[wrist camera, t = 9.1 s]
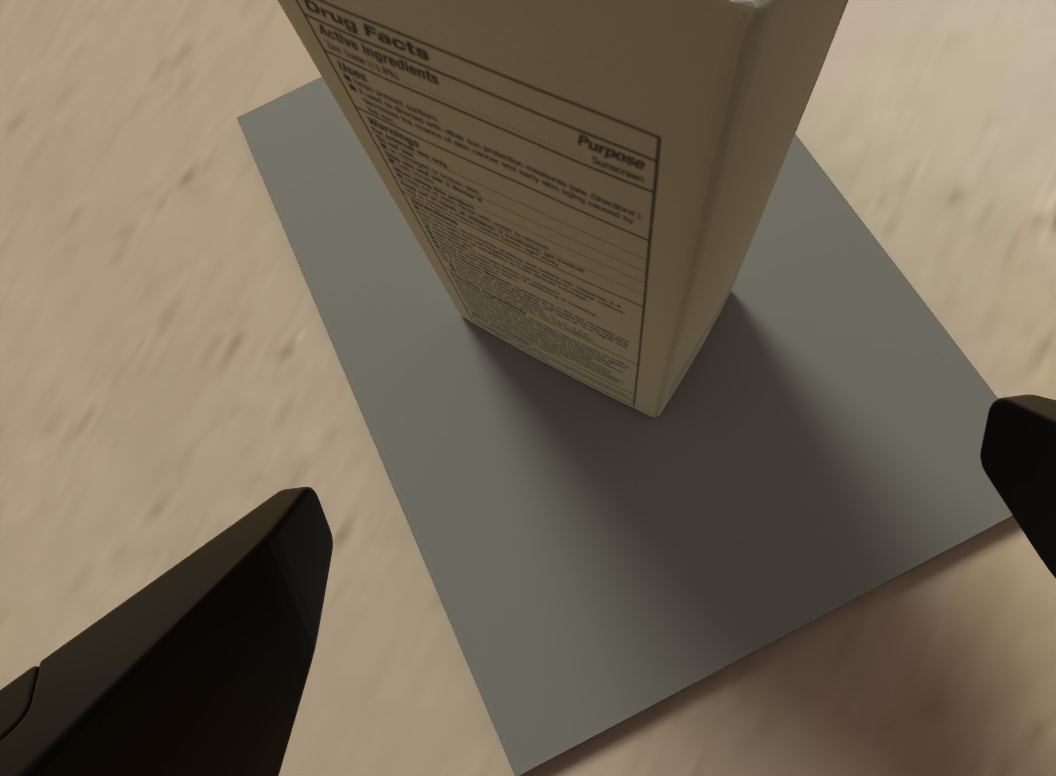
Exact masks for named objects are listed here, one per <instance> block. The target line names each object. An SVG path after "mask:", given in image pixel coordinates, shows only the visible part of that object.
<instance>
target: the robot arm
mask: <svg viewBox="0 0 1056 776" xmlns="http://www.w3.org/2000/svg"><path fill="white" fill-rule="evenodd" d="M980 458H981V464H982V467H983V469H984V471H985V473H986V475H987V476H988V478H989V479H990V481H991V483H992V484H993V486H994V487H995V489H996V490H997V492H998V493H999V495H1000V496H1001V498H1002V499H1003V501H1004V503H1005V504H1006V506H1007V507H1008V509H1009V510H1010V512H1011V513H1012V515H1013V516H1014V518H1015V519H1016V521H1017V523H1018V524H1019V526H1020V527H1021V529H1022V530H1023V532H1024V533H1025V535H1026V536H1027V538H1028V539H1029V541H1030V543H1031V544H1032V546H1033V547H1034V549H1035V550H1036V552H1037V553H1038V555H1039V556H1040V558H1041V559H1042V560H1043V562H1044V563H1045V565H1046V566H1047V568H1048V569H1049V570H1050V572H1051V573H1052V574H1053V576H1054V577H1055V578H1056V400H1052V399H1048V398H1044V397H1040V396H1036V395H1020V396H1012V397H1005V398H999V399H997V400H996V401H994V402H993V403H992V405H991V406H990V409H989V412H988V417H987V422H986V427H985V431H984V436H983V441H982V446H981V452H980ZM332 549H333V540H332V534H331V531H330V528H329V525H328V523H327V520H326V517H325V515H324V512H323V509H322V507H321V504H320V501H319V499H318V496H317V494H316V492H315V491H314V490H313V489H312V488H310V487H300V488H292V489H284V490H281V491H279V492H278V493H276V494H275V495H274V496H272V497H271V498H269V499H268V500H267V501H265V502H264V503H262V504H261V505H260V506H258V507H257V508H255V509H254V510H253V511H251V512H250V513H248V514H247V515H246V516H244V517H243V518H241V519H240V520H239V521H237V522H236V523H234V524H233V525H232V526H230V527H229V528H227V529H226V530H225V531H223V532H222V533H220V534H219V535H218V536H216V537H215V538H213V539H212V540H211V541H209V542H208V543H206V544H205V545H204V546H202V547H201V548H199V549H198V550H196V551H195V552H194V553H192V554H191V555H189V556H188V557H187V558H185V559H184V560H182V561H181V562H180V563H178V564H177V565H175V566H174V567H173V568H171V569H170V570H168V571H167V572H166V573H164V574H163V575H161V576H160V577H159V578H157V579H156V580H154V581H153V582H152V583H150V584H149V585H147V586H146V587H145V588H143V589H142V590H140V591H139V592H138V593H136V594H135V595H133V596H132V597H131V598H129V599H128V600H126V601H125V602H124V603H122V604H121V605H119V606H118V607H116V608H115V609H114V610H112V611H111V612H109V613H108V614H107V615H105V616H104V617H102V618H101V619H100V620H98V621H97V622H95V623H94V624H93V625H91V626H90V627H88V628H87V629H86V630H84V631H83V632H81V633H80V634H79V635H77V636H76V637H74V638H73V639H72V640H70V641H69V642H67V643H66V644H65V645H63V646H62V647H60V648H59V649H58V650H56V651H55V652H53V653H52V654H51V655H49V656H48V657H46V658H45V659H44V660H42V661H41V663H40V666H39V667H38V666H34V667H32V668H31V669H29V670H28V671H26V672H25V673H24V674H22V675H21V676H19V677H18V678H17V679H15V680H14V681H12V682H11V683H10V684H8V685H7V686H5V687H4V688H3V689H1V690H0V776H279V772H280V769H281V766H282V762H283V759H284V755H285V752H286V748H287V745H288V741H289V738H290V735H291V731H292V728H293V724H294V721H295V717H296V714H297V711H298V707H299V704H300V700H301V697H302V693H303V690H304V687H305V683H306V680H307V676H308V673H309V669H310V666H311V662H312V658H313V654H314V651H315V646H316V641H317V636H318V631H319V625H320V620H321V614H322V608H323V602H324V596H325V590H326V585H327V579H328V573H329V567H330V561H331V556H332Z"/></svg>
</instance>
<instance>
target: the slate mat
mask: <svg viewBox="0 0 1056 776" xmlns="http://www.w3.org/2000/svg"><path fill="white" fill-rule="evenodd" d="M237 119H238V122H239V124H240V126H241V129H242V131H243V133H244V136H245V138H246V140H247V143H248V145H249V148H250V150H251V152H252V155H253V157H254V159H255V162H256V164H257V166H258V169H259V171H260V174H261V176H262V178H263V181H264V183H265V185H266V188H267V190H268V193H269V195H270V197H271V200H272V202H273V204H274V207H275V209H276V211H277V214H278V216H279V219H280V221H281V223H282V226H283V228H284V230H285V233H286V235H287V237H288V240H289V242H290V245H291V247H292V249H293V252H294V254H295V256H296V259H297V261H298V263H299V266H300V268H301V271H302V273H303V275H304V278H305V280H306V282H307V285H308V287H309V289H310V292H311V294H312V297H313V299H314V301H315V304H316V306H317V308H318V311H319V313H320V316H321V318H322V320H323V323H324V325H325V327H326V330H327V332H328V334H329V337H330V339H331V342H332V344H333V346H334V349H335V351H336V353H337V356H338V358H339V360H340V363H341V365H342V368H343V370H344V372H345V375H346V377H347V379H348V382H349V384H350V386H351V389H352V391H353V394H354V396H355V398H356V401H357V403H358V405H359V408H360V410H361V412H362V415H363V417H364V420H365V422H366V424H367V427H368V429H369V431H370V434H371V436H372V439H373V441H374V443H375V446H376V448H377V450H378V453H379V455H380V457H381V460H382V462H383V465H384V467H385V469H386V472H387V474H388V476H389V479H390V481H391V483H392V486H393V488H394V491H395V493H396V495H397V498H398V500H399V502H400V505H401V507H402V509H403V512H404V514H405V517H406V519H407V521H408V524H409V526H410V528H411V531H412V533H413V535H414V538H415V540H416V543H417V545H418V547H419V550H420V552H421V554H422V557H423V559H424V562H425V564H426V566H427V569H428V571H429V573H430V576H431V578H432V580H433V583H434V585H435V588H436V590H437V592H438V595H439V597H440V599H441V602H442V604H443V606H444V609H445V611H446V614H447V616H448V618H449V621H450V623H451V625H452V628H453V630H454V632H455V635H456V637H457V640H458V642H459V644H460V647H461V649H462V651H463V654H464V656H465V658H466V661H467V663H468V666H469V668H470V670H471V673H472V675H473V677H474V680H475V682H476V685H477V687H478V689H479V692H480V694H481V696H482V699H483V701H484V703H485V706H486V708H487V711H488V713H489V715H490V718H491V720H492V722H493V725H494V727H495V729H496V732H497V734H498V737H499V739H500V741H501V744H502V746H503V748H504V751H505V753H506V755H507V758H508V760H509V763H510V765H511V767H512V770H513V772H514V774H515V776H519V775H521V774H523V773H525V772H527V771H529V770H531V769H532V768H534V767H536V766H538V765H540V764H542V763H544V762H546V761H548V760H550V759H551V758H553V757H555V756H557V755H559V754H561V753H563V752H565V751H567V750H569V749H570V748H572V747H574V746H576V745H578V744H580V743H582V742H584V741H586V740H588V739H589V738H591V737H593V736H595V735H597V734H599V733H601V732H603V731H605V730H606V729H608V728H610V727H612V726H614V725H616V724H618V723H620V722H622V721H624V720H625V719H627V718H629V717H631V716H633V715H635V714H637V713H639V712H641V711H643V710H644V709H646V708H648V707H650V706H652V705H654V704H656V703H658V702H660V701H662V700H663V699H665V698H667V697H669V696H671V695H673V694H675V693H677V692H679V691H680V690H682V689H684V688H686V687H688V686H690V685H692V684H694V683H696V682H698V681H699V680H701V679H703V678H705V677H707V676H709V675H711V674H713V673H715V672H717V671H718V670H720V669H722V668H724V667H726V666H728V665H730V664H732V663H734V662H736V661H737V660H739V659H741V658H743V657H745V656H747V655H749V654H751V653H753V652H754V651H756V650H758V649H760V648H762V647H764V646H766V645H768V644H770V643H772V642H773V641H775V640H777V639H779V638H781V637H783V636H785V635H787V634H789V633H791V632H792V631H794V630H796V629H798V628H800V627H802V626H804V625H806V624H808V623H810V622H811V621H813V620H815V619H817V618H819V617H821V616H823V615H825V614H827V613H829V612H830V611H832V610H834V609H836V608H838V607H840V606H842V605H844V604H846V603H847V602H849V601H851V600H853V599H855V598H857V597H859V596H861V595H863V594H865V593H866V592H868V591H870V590H872V589H874V588H876V587H878V586H880V585H882V584H884V583H885V582H887V581H889V580H891V579H893V578H895V577H897V576H899V575H901V574H903V573H904V572H906V571H908V570H910V569H912V568H914V567H916V566H918V565H920V564H921V563H923V562H925V561H927V560H929V559H931V558H933V557H935V556H937V555H939V554H940V553H942V552H944V551H946V550H948V549H950V548H952V547H954V546H956V545H958V544H959V543H961V542H963V541H965V540H967V539H969V538H971V537H973V536H975V535H977V534H978V533H980V532H982V531H984V530H986V529H988V528H990V527H992V526H994V525H995V524H997V523H999V522H1001V521H1003V520H1005V519H1007V518H1009V517H1011V516H1013V515H1012V513H1011V512H1010V510H1009V509H1008V507H1007V506H1006V504H1005V503H1004V501H1003V499H1002V498H1001V496H1000V495H999V493H998V492H997V490H996V489H995V487H994V486H993V484H992V483H991V481H990V479H989V478H988V476H987V475H986V473H985V471H984V469H983V467H982V464H981V458H980V452H981V446H982V441H983V436H984V431H985V427H986V422H987V417H988V412H989V409H990V406H991V405H992V403H993V402H994V401H996V400H997V399H998V398H997V397H996V395H995V394H994V393H993V391H992V390H991V389H990V387H989V386H988V385H987V384H986V382H985V381H984V380H983V378H982V377H981V376H980V374H979V373H978V372H977V370H976V369H975V368H974V367H973V365H972V364H971V363H970V361H969V360H968V359H967V357H966V356H965V355H964V353H963V352H962V351H961V350H960V348H959V347H958V346H957V344H956V343H955V342H954V340H953V339H952V338H951V337H950V335H949V334H948V333H947V331H946V330H945V329H944V327H943V326H942V325H941V323H940V322H939V321H938V320H937V318H936V317H935V316H934V314H933V313H932V312H931V310H930V309H929V308H928V307H927V305H926V304H925V303H924V301H923V300H922V299H921V297H920V296H919V295H918V293H917V292H916V291H915V290H914V288H913V287H912V286H911V284H910V283H909V282H908V280H907V279H906V278H905V276H904V275H903V274H902V273H901V271H900V270H899V269H898V267H897V266H896V265H895V263H894V262H893V261H892V260H891V258H890V257H889V256H888V254H887V253H886V252H885V250H884V249H883V248H882V246H881V245H880V244H879V243H878V241H877V240H876V239H875V237H874V236H873V235H872V233H871V232H870V231H869V230H868V228H867V227H866V226H865V224H864V223H863V222H862V220H861V219H860V218H859V216H858V215H857V214H856V213H855V211H854V210H853V209H852V207H851V206H850V205H849V203H848V202H847V201H846V199H845V198H844V197H843V196H842V194H841V193H840V192H839V190H838V189H837V188H836V186H835V185H834V184H833V183H832V181H831V180H830V179H829V177H828V176H827V175H826V173H825V172H824V171H823V169H822V168H821V167H820V166H819V164H818V163H817V162H816V160H815V159H814V158H813V156H812V155H811V154H810V153H809V151H808V150H807V149H806V147H805V146H804V145H803V143H802V142H801V141H800V139H799V138H798V137H797V136H796V134H795V135H794V137H793V139H792V142H791V144H790V147H789V149H788V152H787V154H786V157H785V159H784V162H783V164H782V167H781V169H780V172H779V174H778V177H777V179H776V182H775V184H774V186H773V189H772V191H771V194H770V196H769V199H768V201H767V204H766V206H765V209H764V212H763V214H762V217H761V219H760V222H759V224H758V227H757V229H756V232H755V234H754V237H753V239H752V241H751V244H750V246H749V249H748V251H747V254H746V256H745V259H744V261H743V263H742V266H741V268H740V271H739V273H738V276H737V278H736V281H735V283H734V286H733V288H732V290H731V292H730V294H729V296H728V298H727V300H726V302H725V304H724V306H723V308H722V310H721V312H720V314H719V316H718V318H717V320H716V321H715V323H714V325H713V327H712V329H711V331H710V333H709V334H708V336H707V338H706V340H705V342H704V343H703V345H702V347H701V348H700V350H699V352H698V354H697V355H696V357H695V359H694V360H693V362H692V364H691V366H690V367H689V369H688V371H687V372H686V374H685V375H684V377H683V379H682V380H681V382H680V384H679V385H678V387H677V389H676V390H675V392H674V393H673V395H672V397H671V398H670V400H669V401H668V403H667V405H666V406H665V408H664V409H663V411H662V413H661V414H660V415H659V416H658V417H651V416H648V415H646V414H644V413H642V412H641V411H639V410H637V409H635V408H632V407H630V406H628V405H626V404H624V403H622V402H620V401H618V400H616V399H614V398H612V397H610V396H608V395H606V394H604V393H602V392H600V391H598V390H596V389H594V388H592V387H590V386H588V385H586V384H584V383H582V382H580V381H578V380H576V379H574V378H572V377H570V376H569V375H567V374H565V373H563V372H561V371H559V370H557V369H555V368H553V367H552V366H550V365H548V364H546V363H544V362H542V361H540V360H538V359H536V358H534V357H533V356H531V355H529V354H527V353H525V352H523V351H522V350H520V349H518V348H516V347H514V346H513V345H511V344H509V343H507V342H505V341H504V340H502V339H500V338H498V337H497V336H495V335H493V334H491V333H489V332H488V331H486V330H484V329H483V328H481V327H479V326H478V325H476V324H474V323H472V322H471V321H469V320H467V319H466V318H464V317H463V316H461V315H460V313H459V312H458V310H457V308H456V306H455V305H454V303H453V301H452V299H451V298H450V296H449V294H448V292H447V291H446V289H445V287H444V286H443V284H442V282H441V280H440V279H439V277H438V275H437V274H436V272H435V270H434V268H433V267H432V265H431V263H430V261H429V260H428V258H427V256H426V254H425V252H424V251H423V249H422V247H421V246H420V244H419V242H418V241H417V239H416V237H415V236H414V234H413V232H412V231H411V229H410V227H409V225H408V224H407V222H406V220H405V218H404V216H403V215H402V213H401V211H400V209H399V208H398V206H397V204H396V203H395V201H394V199H393V198H392V196H391V194H390V192H389V191H388V189H387V187H386V186H385V184H384V182H383V181H382V179H381V177H380V175H379V174H378V172H377V170H376V168H375V167H374V165H373V163H372V162H371V160H370V158H369V156H368V155H367V153H366V151H365V150H364V148H363V146H362V144H361V143H360V141H359V139H358V138H357V136H356V134H355V132H354V131H353V129H352V127H351V126H350V124H349V122H348V120H347V119H346V117H345V115H344V114H343V112H342V110H341V108H340V107H339V105H338V103H337V102H336V100H335V98H334V96H333V95H332V93H331V91H330V89H329V88H328V86H327V84H326V82H325V81H324V79H323V77H320V78H318V79H316V80H314V81H312V82H310V83H308V84H306V85H304V86H302V87H300V88H298V89H295V90H293V91H291V92H289V93H287V94H285V95H283V96H281V97H279V98H277V99H275V100H273V101H271V102H269V103H266V104H264V105H262V106H260V107H258V108H256V109H254V110H252V111H250V112H248V113H246V114H244V115H242V116H239V117H237Z"/></svg>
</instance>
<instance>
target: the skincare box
mask: <svg viewBox="0 0 1056 776" xmlns="http://www.w3.org/2000/svg"><path fill="white" fill-rule="evenodd" d="M278 2H279V3H280V5H281V7H282V8H283V10H284V12H285V14H286V15H287V17H288V19H289V20H290V22H291V24H292V25H293V27H294V29H295V31H296V32H297V34H298V36H299V37H300V39H301V41H302V43H303V44H304V46H305V48H306V49H307V51H308V53H309V55H310V56H311V58H312V60H313V62H314V63H315V65H316V67H317V69H318V70H319V72H320V74H321V75H322V77H323V79H324V81H325V82H326V84H327V86H328V88H329V89H330V91H331V93H332V95H333V96H334V98H335V100H336V102H337V103H338V105H339V107H340V108H341V110H342V112H343V114H344V115H345V117H346V119H347V120H348V122H349V124H350V126H351V127H352V129H353V131H354V132H355V134H356V136H357V138H358V139H359V141H360V143H361V144H362V146H363V148H364V150H365V151H366V153H367V155H368V156H369V158H370V160H371V162H372V163H373V165H374V167H375V168H376V170H377V172H378V174H379V175H380V177H381V179H382V181H383V182H384V184H385V186H386V187H387V189H388V191H389V192H390V194H391V196H392V198H393V199H394V201H395V203H396V204H397V206H398V208H399V209H400V211H401V213H402V215H403V216H404V218H405V220H406V222H407V224H408V225H409V227H410V229H411V231H412V232H413V234H414V236H415V237H416V239H417V241H418V242H419V244H420V246H421V247H422V249H423V251H424V252H425V254H426V256H427V258H428V260H429V261H430V263H431V265H432V267H433V268H434V270H435V272H436V274H437V275H438V277H439V279H440V280H441V282H442V284H443V286H444V287H445V289H446V291H447V292H448V294H449V296H450V298H451V299H452V301H453V303H454V305H455V306H456V308H457V310H458V312H459V313H460V315H461V316H463V317H464V318H466V319H467V320H469V321H471V322H472V323H474V324H476V325H478V326H479V327H481V328H483V329H484V330H486V331H488V332H489V333H491V334H493V335H495V336H497V337H498V338H500V339H502V340H504V341H505V342H507V343H509V344H511V345H513V346H514V347H516V348H518V349H520V350H522V351H523V352H525V353H527V354H529V355H531V356H533V357H534V358H536V359H538V360H540V361H542V362H544V363H546V364H548V365H550V366H552V367H553V368H555V369H557V370H559V371H561V372H563V373H565V374H567V375H569V376H570V377H572V378H574V379H576V380H578V381H580V382H582V383H584V384H586V385H588V386H590V387H592V388H594V389H596V390H598V391H600V392H602V393H604V394H606V395H608V396H610V397H612V398H614V399H616V400H618V401H620V402H622V403H624V404H626V405H628V406H630V407H632V408H635V409H637V410H639V411H641V412H642V413H644V414H646V415H648V416H651V417H658V416H659V415H660V414H661V413H662V411H663V409H664V408H665V406H666V405H667V403H668V401H669V400H670V398H671V397H672V395H673V393H674V392H675V390H676V389H677V387H678V385H679V384H680V382H681V380H682V379H683V377H684V375H685V374H686V372H687V371H688V369H689V367H690V366H691V364H692V362H693V360H694V359H695V357H696V355H697V354H698V352H699V350H700V348H701V347H702V345H703V343H704V342H705V340H706V338H707V336H708V334H709V333H710V331H711V329H712V327H713V325H714V323H715V321H716V320H717V318H718V316H719V314H720V312H721V310H722V308H723V306H724V304H725V302H726V300H727V298H728V296H729V294H730V292H731V290H732V288H733V286H734V283H735V281H736V278H737V276H738V273H739V271H740V268H741V266H742V263H743V261H744V259H745V256H746V254H747V251H748V249H749V246H750V244H751V241H752V239H753V237H754V234H755V232H756V229H757V227H758V224H759V222H760V219H761V217H762V214H763V212H764V209H765V206H766V204H767V201H768V199H769V196H770V194H771V191H772V189H773V186H774V184H775V182H776V179H777V177H778V174H779V172H780V169H781V167H782V164H783V162H784V159H785V157H786V154H787V152H788V149H789V147H790V144H791V142H792V139H793V137H794V135H795V132H796V130H797V127H798V125H799V122H800V120H801V118H802V115H803V113H804V110H805V108H806V105H807V103H808V101H809V98H810V96H811V93H812V91H813V88H814V86H815V84H816V81H817V79H818V76H819V74H820V71H821V69H822V66H823V63H824V61H825V58H826V56H827V53H828V51H829V48H830V46H831V43H832V41H833V38H834V35H835V33H836V30H837V28H838V25H839V23H840V20H841V18H842V15H843V13H844V10H845V8H846V5H847V3H848V0H278Z"/></svg>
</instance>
